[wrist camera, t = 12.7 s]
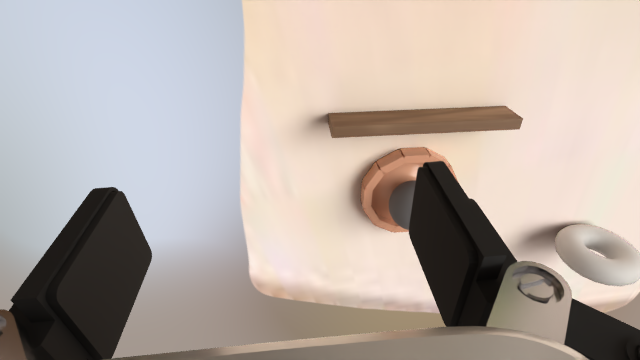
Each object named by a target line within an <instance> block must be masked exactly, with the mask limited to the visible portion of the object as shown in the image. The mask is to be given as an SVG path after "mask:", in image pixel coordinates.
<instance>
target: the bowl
mask: <svg viewBox="0 0 640 360" xmlns="http://www.w3.org/2000/svg"><path fill="white" fill-rule="evenodd" d="M434 161H444V163H445V164H446V165H447V167H448V168H449V170H450V171H451V173H452V174H453V176H454V177H455V179H456V180H457V178H456V176H455V174H454V171H453V169H452V167H451V165H450V164H449V163H448V161H447V160H446V159H445V157H443V156H441V155H439V154H437V153H435V152H433V151H431V150H430V149H428V148H425V147H421V148H401V149H400V150H399V149H398V150H396V151H394V152H392V153H390V154H388V155H386V156H385V157H383V158H381V159H379V160H377V162H375V163H374V164H373V166H372V167H371V169H370V170H369V171H368V173H367V174H366V175H365V177H364V178H363V181H362V186H361V203H362V206H363V210H364V211H365V213H366V214H367V216H368V217H369V219H370V220H371V221H372V223H373V224H374V225H376V226H378V227H381V228H383V229H386V230H388V231H391V232H408V231H409V230H406V229H404V228H402V227H400V226H399V225H398V224H397V223H396V222H395V221H394V220H393V219H392V217H391V215H390V212H389V199H390V196H391V194H392V192H393V191H394V189H395V188H396V187H397V186H399V185H400V184H402V183H404V182H407V181H412V180H416V176H417V170H418V168H419V167H423V164H424V163H425V162H434ZM457 182H458V181H457Z"/></svg>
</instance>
